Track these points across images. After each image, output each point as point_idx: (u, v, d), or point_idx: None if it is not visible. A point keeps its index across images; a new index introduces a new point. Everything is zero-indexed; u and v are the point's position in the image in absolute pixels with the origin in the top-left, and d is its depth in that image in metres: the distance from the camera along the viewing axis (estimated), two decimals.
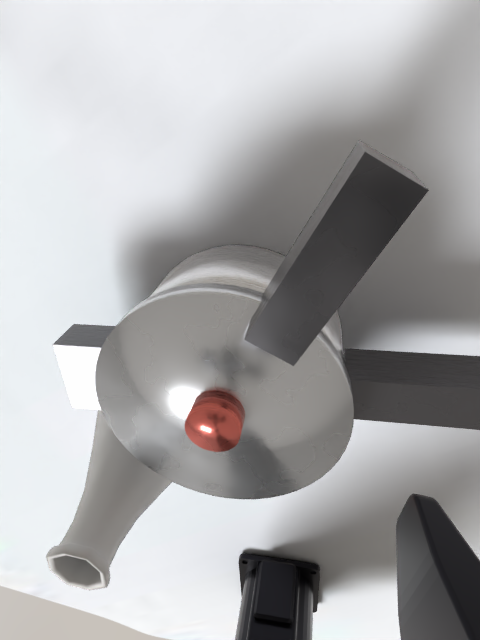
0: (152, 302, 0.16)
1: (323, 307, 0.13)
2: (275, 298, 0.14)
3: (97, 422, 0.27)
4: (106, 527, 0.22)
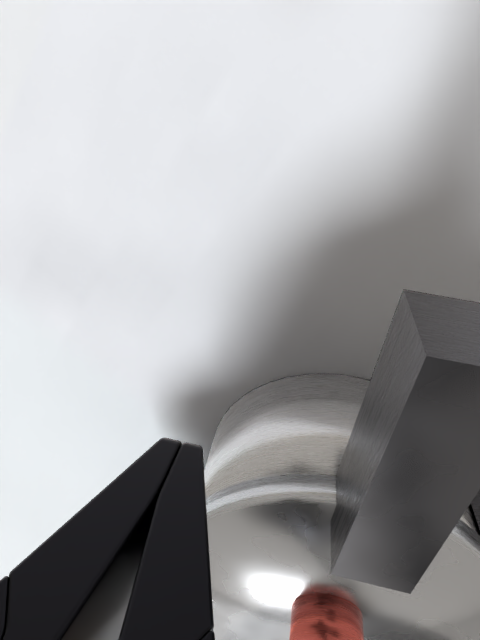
0: None
1: (429, 532, 0.09)
2: (356, 530, 0.10)
3: None
4: None
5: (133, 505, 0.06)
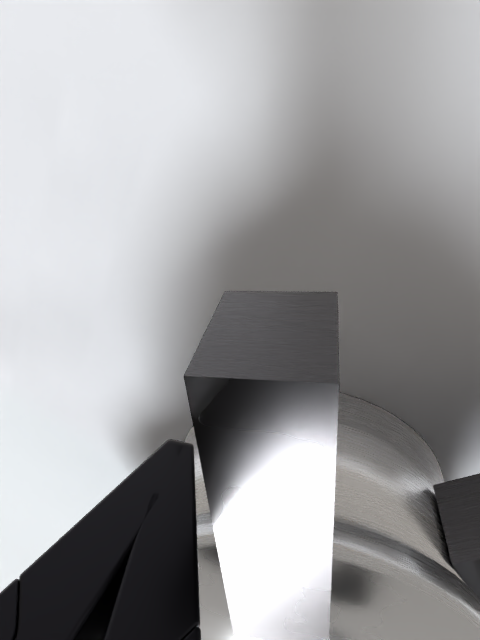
0: None
1: (308, 580, 0.07)
2: (230, 584, 0.08)
3: None
4: None
5: (141, 507, 0.06)
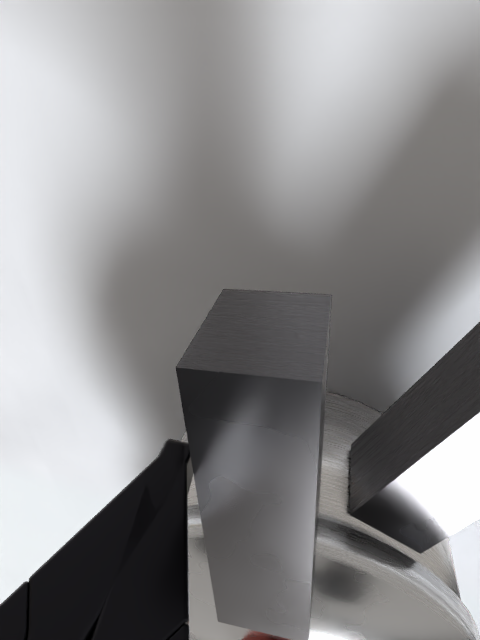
0: None
1: (289, 572, 0.08)
2: (215, 572, 0.08)
3: None
4: None
5: (149, 509, 0.06)
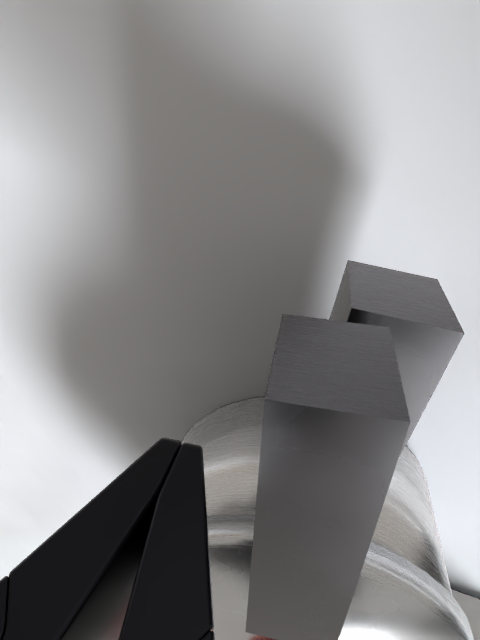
0: None
1: (332, 589, 0.08)
2: (255, 587, 0.09)
3: None
4: None
5: (133, 505, 0.06)
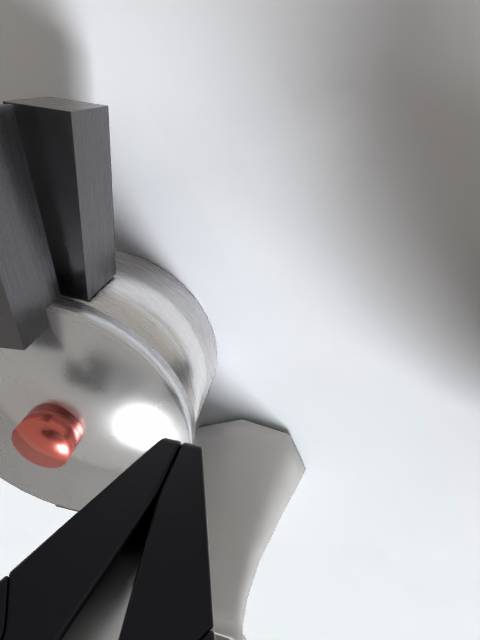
0: None
1: None
2: None
3: None
4: None
5: (133, 505, 0.06)
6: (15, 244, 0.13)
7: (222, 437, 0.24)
